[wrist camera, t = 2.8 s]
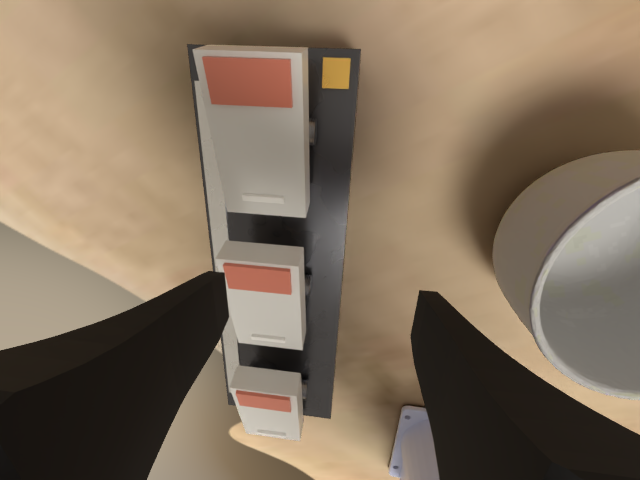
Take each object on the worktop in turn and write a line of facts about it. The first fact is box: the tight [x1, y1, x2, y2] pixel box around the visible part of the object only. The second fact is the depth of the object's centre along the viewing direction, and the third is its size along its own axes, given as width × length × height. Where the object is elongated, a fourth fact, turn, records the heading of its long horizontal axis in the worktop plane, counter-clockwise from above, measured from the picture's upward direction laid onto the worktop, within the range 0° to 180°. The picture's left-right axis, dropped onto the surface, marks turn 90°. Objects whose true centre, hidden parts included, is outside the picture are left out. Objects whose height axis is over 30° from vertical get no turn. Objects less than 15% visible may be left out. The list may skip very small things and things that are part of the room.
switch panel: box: [187, 44, 361, 419], centre depth 20 cm, size 24×8×5 cm, turn 178°
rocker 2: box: [215, 240, 306, 350], centre depth 17 cm, size 7×4×2 cm, turn 178°
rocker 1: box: [192, 45, 310, 218], centre depth 14 cm, size 7×4×2 cm, turn 178°
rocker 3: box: [229, 365, 304, 441], centre depth 20 cm, size 7×4×2 cm, turn 178°
